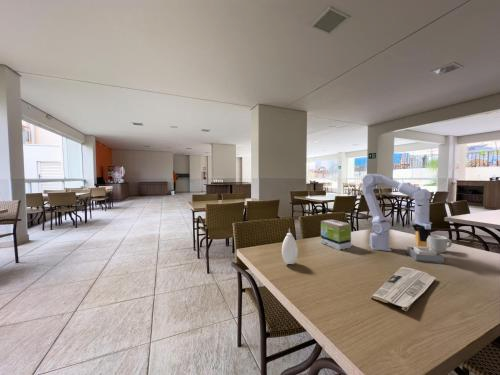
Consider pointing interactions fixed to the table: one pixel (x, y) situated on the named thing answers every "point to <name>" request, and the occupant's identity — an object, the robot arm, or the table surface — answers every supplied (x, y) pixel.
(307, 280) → the table surface
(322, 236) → the tea box
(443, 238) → the cup
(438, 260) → the walled box
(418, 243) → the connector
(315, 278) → the table surface
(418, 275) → the newspaper
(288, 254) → the sauce bottle
